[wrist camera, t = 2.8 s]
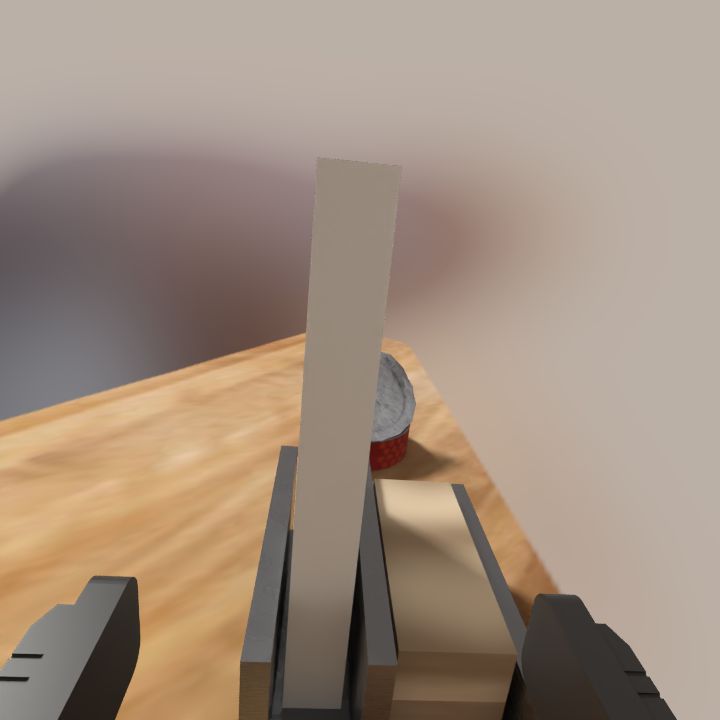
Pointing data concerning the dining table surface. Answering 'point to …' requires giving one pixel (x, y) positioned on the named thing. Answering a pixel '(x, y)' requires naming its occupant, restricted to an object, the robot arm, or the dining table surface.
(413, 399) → the canned food
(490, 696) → the offcut top
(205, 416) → the dining table surface
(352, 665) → the rack
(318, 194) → the white rectangular board
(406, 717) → the offcut bottom
